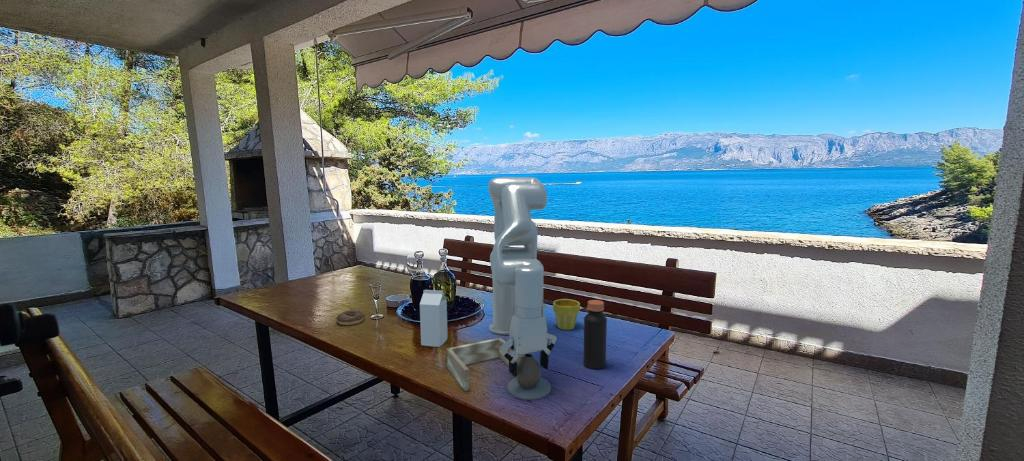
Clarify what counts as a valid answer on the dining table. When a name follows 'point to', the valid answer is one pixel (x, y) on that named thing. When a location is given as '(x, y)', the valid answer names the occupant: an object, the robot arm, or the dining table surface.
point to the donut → (350, 317)
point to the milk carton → (433, 318)
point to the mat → (529, 390)
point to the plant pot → (566, 313)
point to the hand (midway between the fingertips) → (528, 370)
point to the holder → (473, 358)
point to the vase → (528, 372)
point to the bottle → (595, 335)
